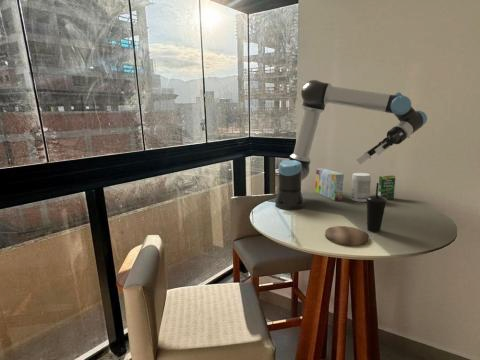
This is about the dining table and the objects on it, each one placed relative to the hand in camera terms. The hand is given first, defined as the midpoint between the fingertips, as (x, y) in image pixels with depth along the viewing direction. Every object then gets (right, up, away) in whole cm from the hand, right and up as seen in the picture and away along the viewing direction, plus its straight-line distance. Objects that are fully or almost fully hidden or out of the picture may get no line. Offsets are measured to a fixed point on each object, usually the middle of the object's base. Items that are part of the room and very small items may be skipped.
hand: (367, 157), depth 127 cm
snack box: (-3, -20, +46) cm, 50 cm away
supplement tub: (+12, -21, +37) cm, 44 cm away
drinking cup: (0, -31, -6) cm, 31 cm away
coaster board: (-14, -32, -13) cm, 37 cm away
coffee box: (+27, -21, +38) cm, 51 cm away
